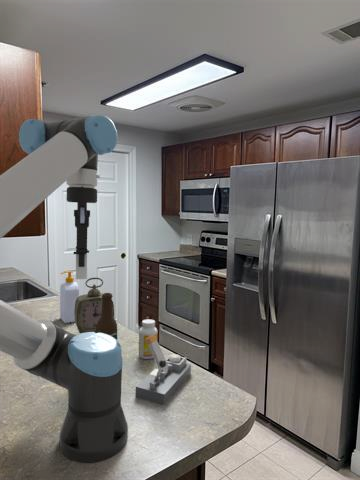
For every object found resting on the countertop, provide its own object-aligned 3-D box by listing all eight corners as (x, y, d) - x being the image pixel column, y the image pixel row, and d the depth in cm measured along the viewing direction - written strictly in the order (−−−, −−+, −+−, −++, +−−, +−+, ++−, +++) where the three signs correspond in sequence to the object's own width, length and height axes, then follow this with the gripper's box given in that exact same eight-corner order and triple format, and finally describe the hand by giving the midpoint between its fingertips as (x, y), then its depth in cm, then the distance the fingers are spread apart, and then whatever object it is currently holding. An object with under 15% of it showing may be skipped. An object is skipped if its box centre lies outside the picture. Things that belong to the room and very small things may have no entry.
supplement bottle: (160, 356, 124) (161, 321, 123) (147, 361, 119) (148, 325, 118) (148, 350, 128) (149, 317, 127) (134, 355, 124) (135, 320, 123)
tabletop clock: (76, 344, 131) (77, 280, 129) (73, 336, 140) (73, 276, 137) (113, 340, 137) (114, 278, 135) (108, 332, 146) (109, 274, 143)
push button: (182, 361, 111) (182, 355, 111) (177, 365, 108) (177, 359, 108) (171, 359, 113) (172, 353, 112) (167, 363, 109) (167, 357, 109)
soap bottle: (58, 318, 161) (58, 270, 159) (73, 316, 165) (73, 269, 163) (63, 324, 154) (63, 273, 152) (78, 321, 157) (79, 272, 155)
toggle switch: (158, 384, 98) (168, 361, 96) (155, 387, 96) (165, 364, 94) (153, 380, 99) (162, 357, 97) (149, 383, 97) (159, 360, 95)
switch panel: (190, 373, 112) (191, 358, 111) (164, 404, 93) (164, 387, 93) (165, 367, 115) (166, 353, 115) (135, 396, 97) (136, 379, 96)
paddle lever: (171, 370, 105) (155, 333, 107) (166, 375, 102) (149, 337, 103) (166, 371, 106) (150, 335, 107) (161, 377, 102) (144, 339, 104)
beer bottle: (112, 368, 113) (113, 297, 111) (90, 365, 114) (91, 295, 112) (120, 358, 120) (122, 292, 118) (100, 356, 122) (101, 290, 120)
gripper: (99, 186, 82) (97, 283, 84) (95, 189, 94) (94, 273, 96) (66, 184, 79) (65, 284, 82) (67, 187, 92) (66, 274, 94)
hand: (81, 278), depth 89 cm, fingers closed
